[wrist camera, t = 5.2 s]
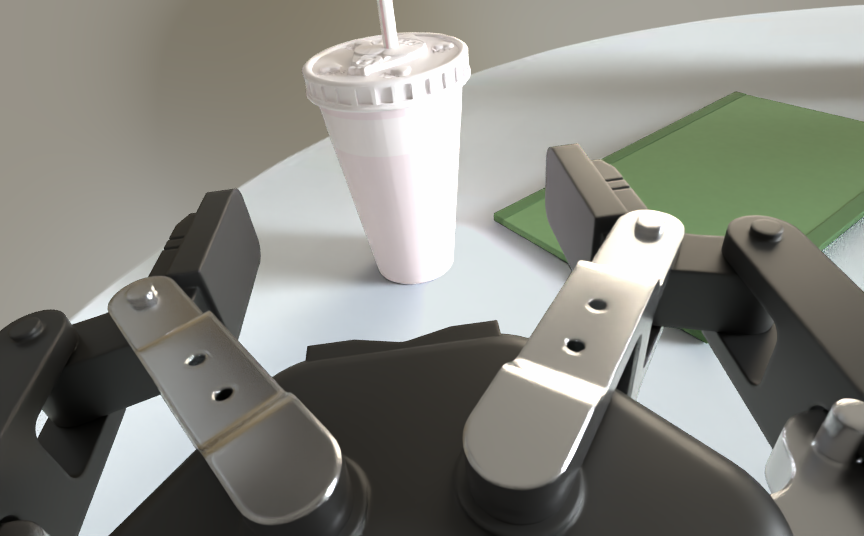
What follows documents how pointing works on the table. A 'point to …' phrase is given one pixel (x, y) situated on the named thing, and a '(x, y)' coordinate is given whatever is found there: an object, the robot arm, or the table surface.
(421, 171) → the smoothie
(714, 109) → the green flat rectangular slab
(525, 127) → the table surface
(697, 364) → the table surface
